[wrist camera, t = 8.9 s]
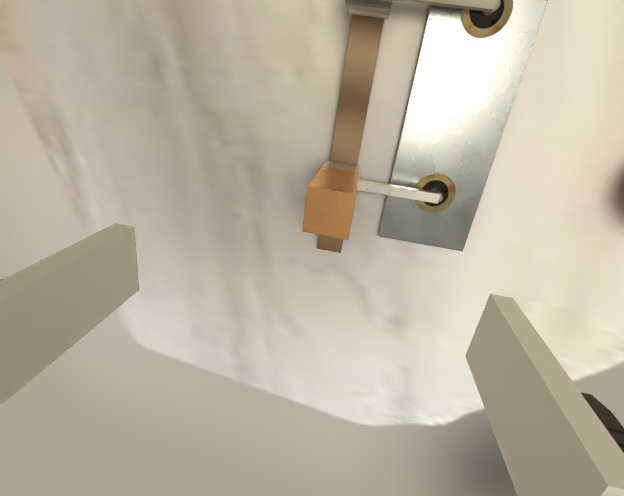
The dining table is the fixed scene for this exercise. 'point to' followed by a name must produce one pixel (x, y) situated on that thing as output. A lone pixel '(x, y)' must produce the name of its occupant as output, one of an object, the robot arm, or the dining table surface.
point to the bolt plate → (457, 117)
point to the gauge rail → (368, 77)
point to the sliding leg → (347, 198)
